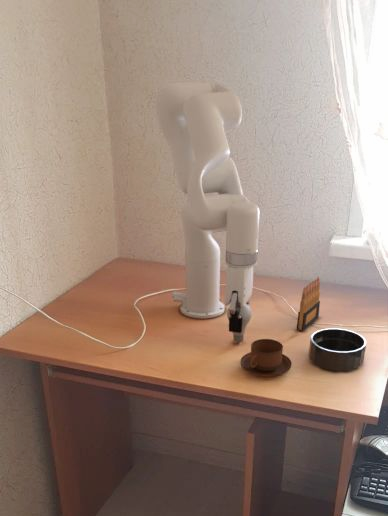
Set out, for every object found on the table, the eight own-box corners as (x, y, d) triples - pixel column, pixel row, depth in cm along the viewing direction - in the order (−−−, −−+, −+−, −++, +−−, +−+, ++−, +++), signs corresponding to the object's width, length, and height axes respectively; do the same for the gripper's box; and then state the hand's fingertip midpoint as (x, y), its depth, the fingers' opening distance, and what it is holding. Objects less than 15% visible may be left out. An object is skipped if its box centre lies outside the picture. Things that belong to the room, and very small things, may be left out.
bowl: (304, 368, 149) (306, 347, 146) (313, 345, 159) (315, 325, 156) (360, 376, 145) (363, 355, 142) (365, 352, 156) (368, 332, 153)
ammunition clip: (302, 331, 166) (306, 289, 160) (296, 330, 167) (300, 287, 161) (318, 317, 174) (323, 276, 168) (312, 316, 175) (316, 275, 168)
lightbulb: (243, 350, 157) (244, 309, 151) (221, 344, 160) (222, 304, 154) (254, 340, 161) (256, 301, 156) (233, 335, 164) (234, 296, 158)
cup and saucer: (283, 385, 142) (285, 361, 139) (233, 375, 146) (233, 352, 143) (296, 362, 151) (298, 339, 148) (249, 353, 155) (250, 331, 152)
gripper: (235, 244, 157) (233, 311, 166) (215, 267, 143) (214, 338, 152) (265, 247, 155) (261, 314, 164) (247, 270, 141) (244, 342, 150)
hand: (238, 325), depth 158 cm, fingers closed on lightbulb, 6 cm apart
